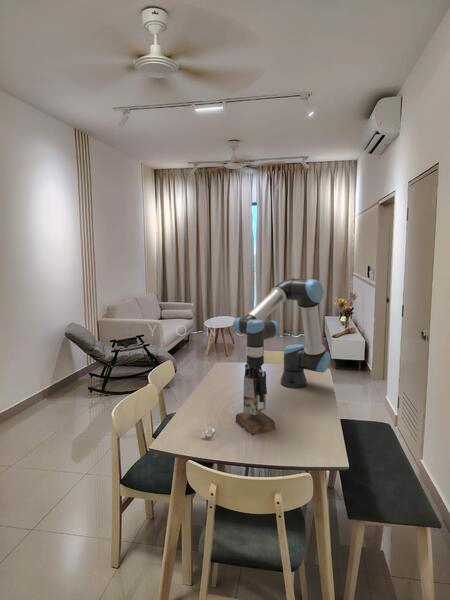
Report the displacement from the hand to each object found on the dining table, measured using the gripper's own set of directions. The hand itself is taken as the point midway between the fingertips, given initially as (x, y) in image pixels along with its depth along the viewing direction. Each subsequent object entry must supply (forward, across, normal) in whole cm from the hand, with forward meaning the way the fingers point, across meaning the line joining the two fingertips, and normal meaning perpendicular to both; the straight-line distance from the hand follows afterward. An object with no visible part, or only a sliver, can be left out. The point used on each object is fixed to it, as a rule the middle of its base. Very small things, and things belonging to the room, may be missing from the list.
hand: (254, 404), depth 170 cm
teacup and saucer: (+10, 0, -19) cm, 22 cm away
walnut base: (+10, 0, 0) cm, 10 cm away
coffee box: (+3, 0, 0) cm, 3 cm away
